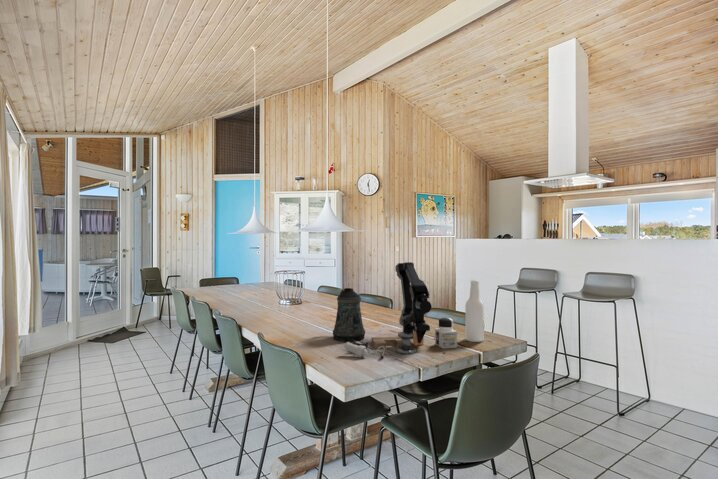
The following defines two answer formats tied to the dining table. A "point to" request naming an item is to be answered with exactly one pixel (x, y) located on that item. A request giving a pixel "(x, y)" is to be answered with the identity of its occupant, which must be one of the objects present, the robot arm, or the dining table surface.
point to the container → (445, 334)
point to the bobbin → (405, 343)
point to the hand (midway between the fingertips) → (418, 341)
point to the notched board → (385, 341)
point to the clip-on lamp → (359, 348)
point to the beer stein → (348, 317)
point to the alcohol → (474, 315)
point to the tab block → (415, 340)
